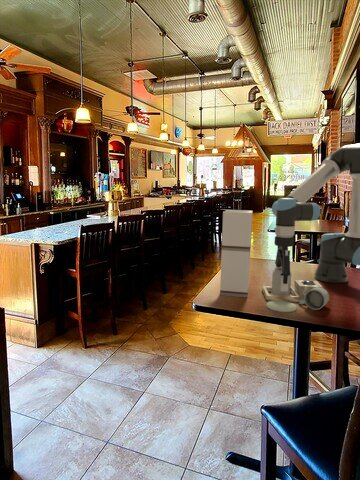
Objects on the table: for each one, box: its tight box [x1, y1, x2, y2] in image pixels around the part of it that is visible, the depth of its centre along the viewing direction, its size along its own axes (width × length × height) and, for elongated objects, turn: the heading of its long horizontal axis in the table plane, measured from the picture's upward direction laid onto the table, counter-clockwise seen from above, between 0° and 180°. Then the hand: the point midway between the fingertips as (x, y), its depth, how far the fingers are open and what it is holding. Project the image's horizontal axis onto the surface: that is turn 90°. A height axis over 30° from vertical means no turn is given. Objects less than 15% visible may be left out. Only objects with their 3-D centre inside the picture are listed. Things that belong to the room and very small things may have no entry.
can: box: [271, 266, 292, 296], centre depth 152 cm, size 8×8×12 cm
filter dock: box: [261, 279, 324, 303], centre depth 152 cm, size 22×13×6 cm, turn 85°
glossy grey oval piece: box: [303, 279, 315, 285], centre depth 152 cm, size 4×4×5 cm
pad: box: [266, 300, 297, 313], centre depth 140 cm, size 11×11×1 cm
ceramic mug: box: [298, 287, 330, 311], centre depth 141 cm, size 11×8×8 cm
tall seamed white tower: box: [219, 209, 254, 298], centre depth 154 cm, size 11×11×35 cm
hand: (281, 286), depth 153 cm, fingers open, 13 cm apart
